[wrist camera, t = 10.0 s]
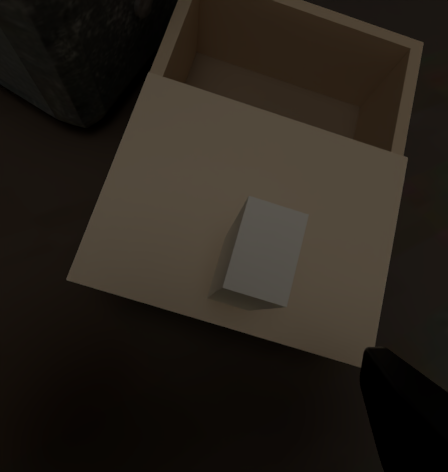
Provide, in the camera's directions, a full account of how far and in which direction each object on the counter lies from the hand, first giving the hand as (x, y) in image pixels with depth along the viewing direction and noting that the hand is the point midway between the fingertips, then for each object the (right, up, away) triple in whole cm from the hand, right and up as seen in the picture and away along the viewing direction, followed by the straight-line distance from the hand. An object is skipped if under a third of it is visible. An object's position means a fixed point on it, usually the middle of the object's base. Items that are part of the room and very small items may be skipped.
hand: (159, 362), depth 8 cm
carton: (+4, +9, +14) cm, 17 cm away
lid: (+3, +4, +7) cm, 8 cm away
